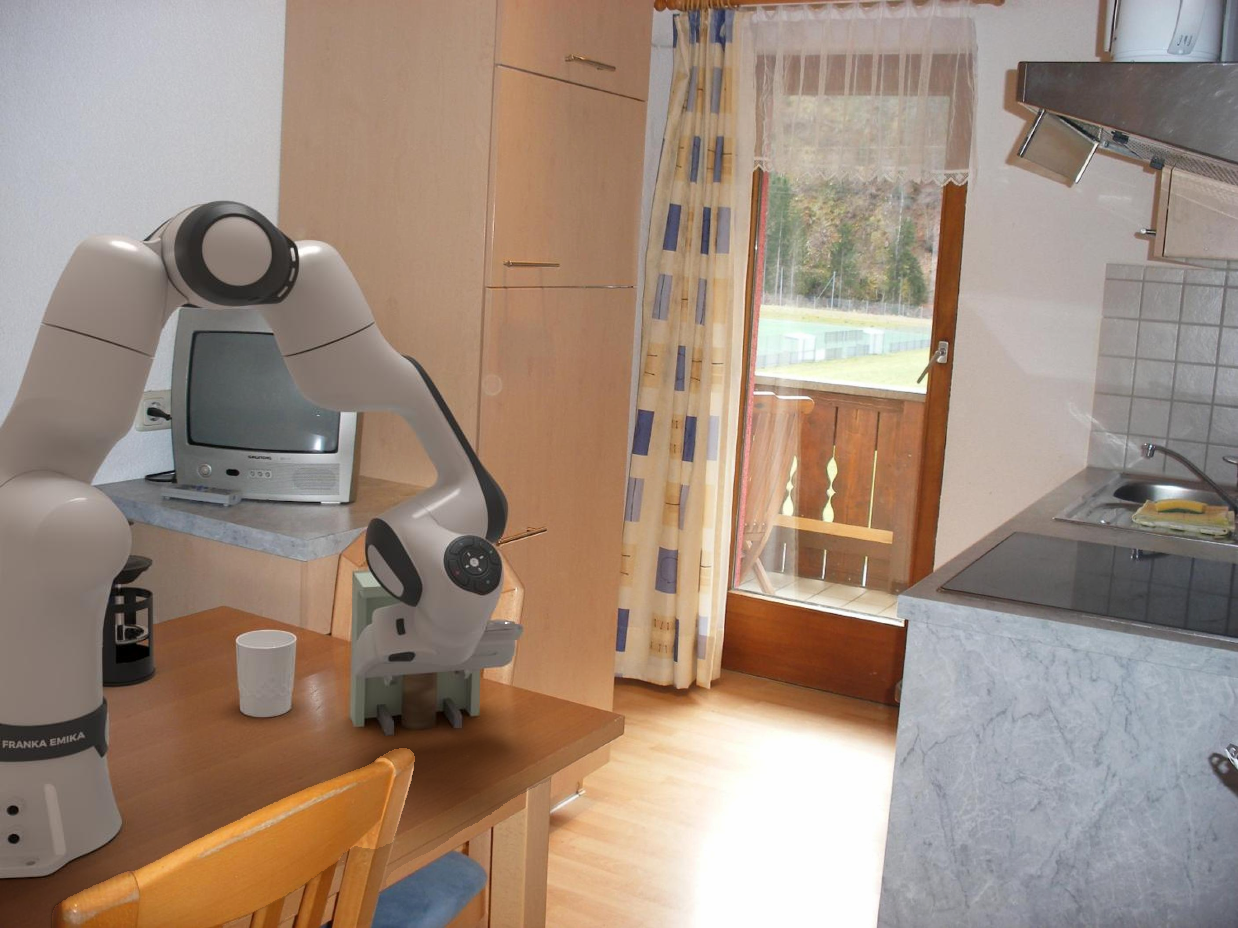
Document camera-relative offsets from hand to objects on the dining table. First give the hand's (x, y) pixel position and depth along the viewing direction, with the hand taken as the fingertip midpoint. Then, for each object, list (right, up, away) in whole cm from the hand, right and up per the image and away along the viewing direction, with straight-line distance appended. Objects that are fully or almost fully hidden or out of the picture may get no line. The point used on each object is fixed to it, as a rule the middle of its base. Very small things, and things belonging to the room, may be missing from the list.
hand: (425, 676), depth 154 cm
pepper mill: (-2, -7, +5) cm, 9 cm away
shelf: (-2, -7, +5) cm, 9 cm away
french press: (-47, -3, +16) cm, 50 cm away
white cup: (-23, -6, +7) cm, 25 cm away
